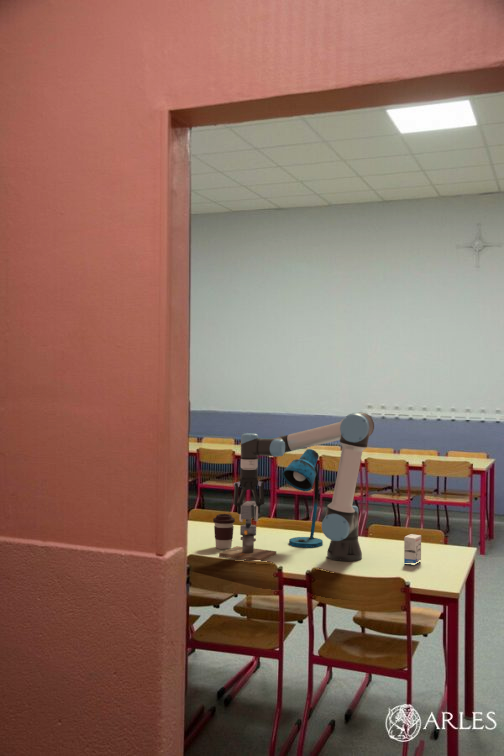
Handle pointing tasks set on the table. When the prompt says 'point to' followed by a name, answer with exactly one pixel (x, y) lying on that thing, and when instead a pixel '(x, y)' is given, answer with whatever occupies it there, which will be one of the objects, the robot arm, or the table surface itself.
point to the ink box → (412, 548)
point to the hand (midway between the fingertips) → (248, 520)
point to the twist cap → (248, 519)
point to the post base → (247, 556)
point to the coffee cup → (223, 530)
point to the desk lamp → (302, 479)
